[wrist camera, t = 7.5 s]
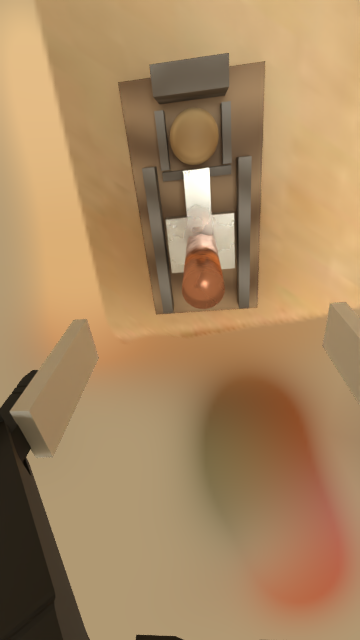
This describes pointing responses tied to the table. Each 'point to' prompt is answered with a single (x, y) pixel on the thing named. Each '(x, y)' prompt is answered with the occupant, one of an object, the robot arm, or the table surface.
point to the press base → (198, 166)
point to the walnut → (194, 136)
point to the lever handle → (201, 243)
